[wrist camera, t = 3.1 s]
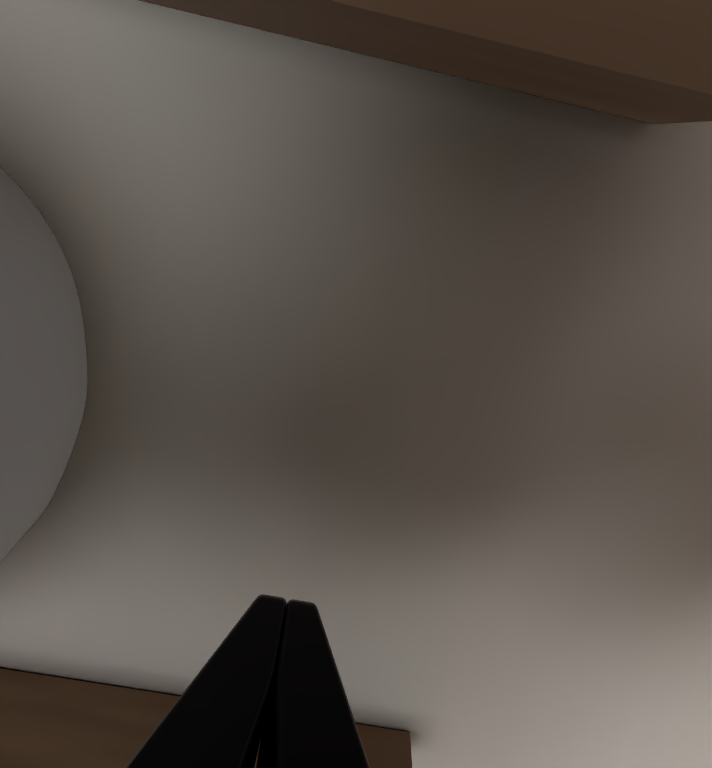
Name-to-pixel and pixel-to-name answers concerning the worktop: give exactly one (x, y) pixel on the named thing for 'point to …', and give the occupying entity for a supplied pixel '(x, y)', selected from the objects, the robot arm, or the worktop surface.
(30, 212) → the lumpy-topped squat cylinder
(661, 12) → the guide rails
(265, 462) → the worktop surface
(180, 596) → the worktop surface
